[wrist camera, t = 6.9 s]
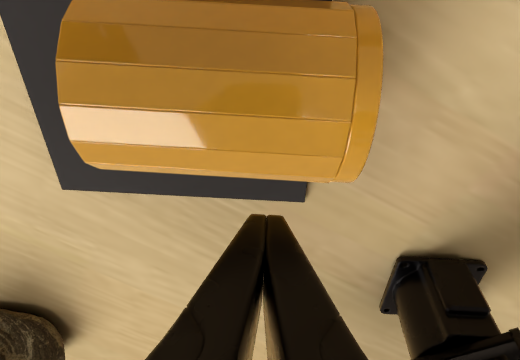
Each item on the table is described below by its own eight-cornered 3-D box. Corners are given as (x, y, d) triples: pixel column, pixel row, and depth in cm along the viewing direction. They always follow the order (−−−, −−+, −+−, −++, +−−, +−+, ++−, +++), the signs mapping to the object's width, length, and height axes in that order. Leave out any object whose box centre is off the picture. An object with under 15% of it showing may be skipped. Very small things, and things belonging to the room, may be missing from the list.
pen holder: (353, 218, 15) (87, 202, 15) (332, 131, 21) (140, 119, 21) (401, 35, 11) (29, 13, 11) (358, -11, 17) (116, -25, 17)
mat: (304, 198, 25) (304, 202, 24) (64, 186, 25) (62, 189, 25) (354, -172, 14) (356, -174, 14) (-66, -189, 14) (-74, -191, 14)
